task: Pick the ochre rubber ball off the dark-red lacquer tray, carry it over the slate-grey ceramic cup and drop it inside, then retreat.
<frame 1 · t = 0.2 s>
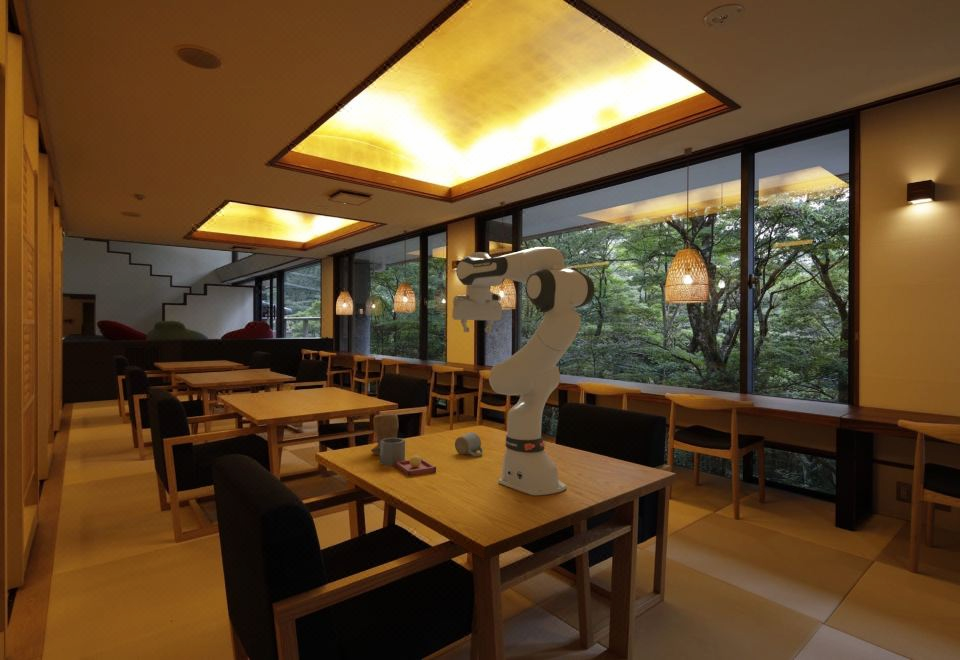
hand: (477, 332, 184), 47 cm above the table, fingers open, 8 cm apart
lacquer tray: (415, 469, 167), on the table
ceramic mug: (470, 454, 189), on the table
ball: (415, 461, 167), point 3 cm above the table, touching lacquer tray
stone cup: (386, 452, 189), on the table
deep cup: (392, 462, 175), on the table
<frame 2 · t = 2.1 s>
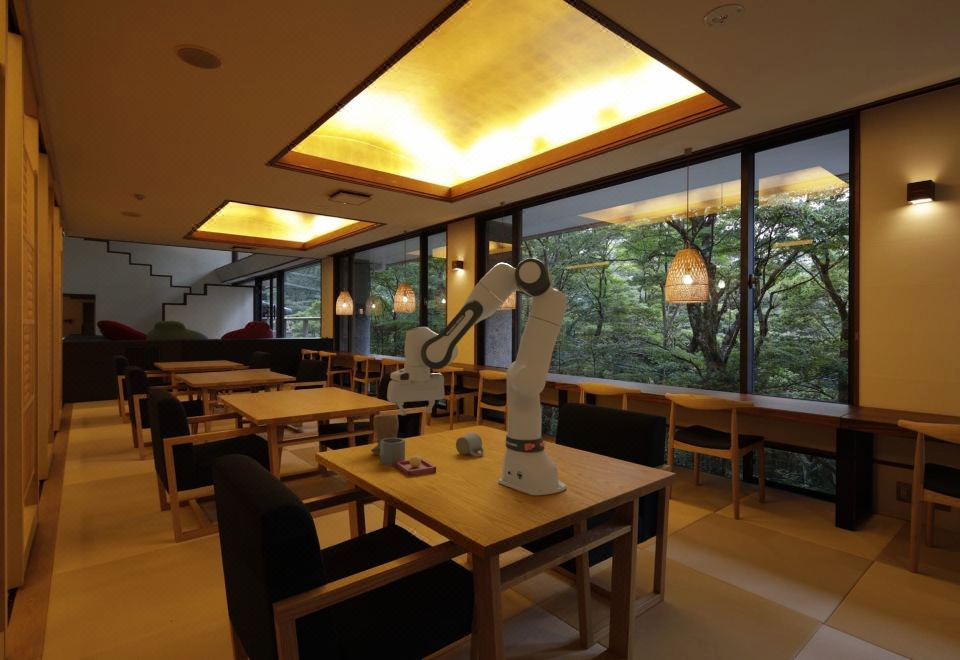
hand: (416, 413, 167), 19 cm above the table, fingers open, 8 cm apart
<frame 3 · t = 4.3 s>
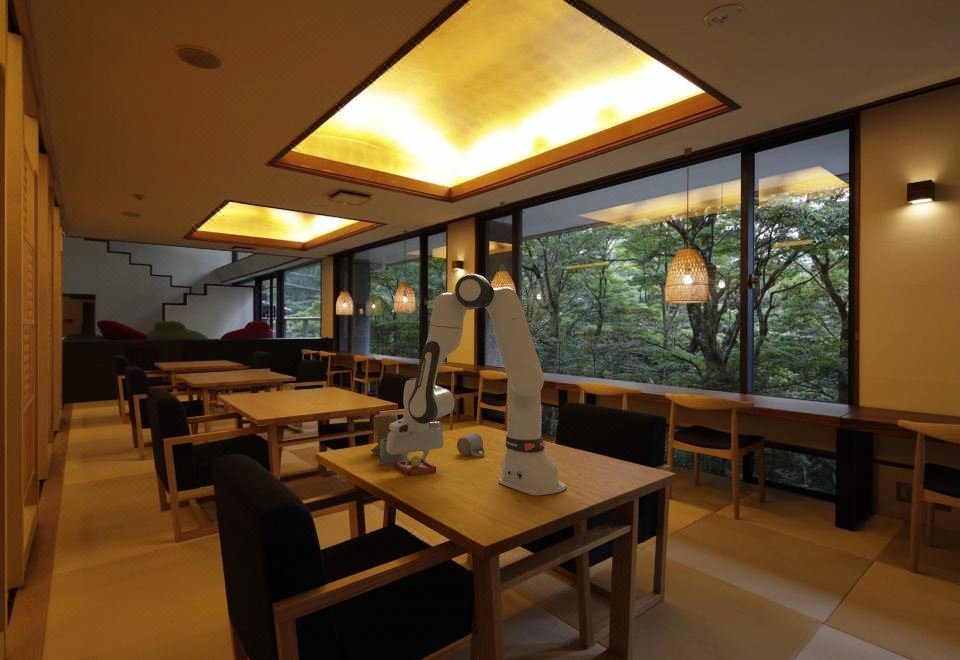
hand: (415, 463, 167), 2 cm above the table, fingers closed on ball, 4 cm apart
ball: (415, 461, 167), point 3 cm above the table, touching gripper, lacquer tray
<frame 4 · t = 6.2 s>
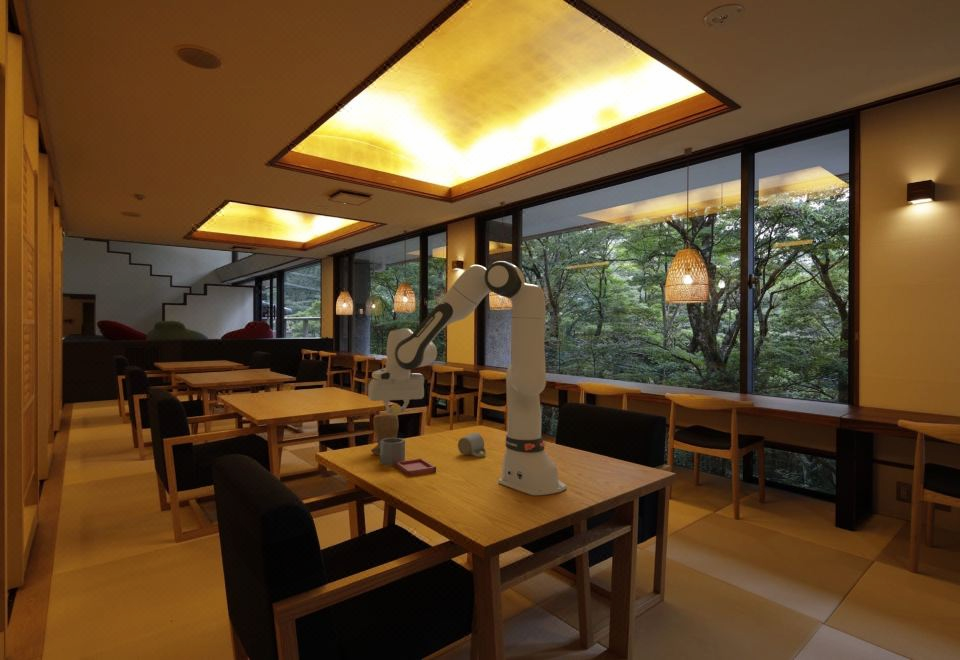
hand: (395, 412, 173), 19 cm above the table, fingers closed on ball, 4 cm apart
ball: (396, 410, 173), point 19 cm above the table, touching gripper
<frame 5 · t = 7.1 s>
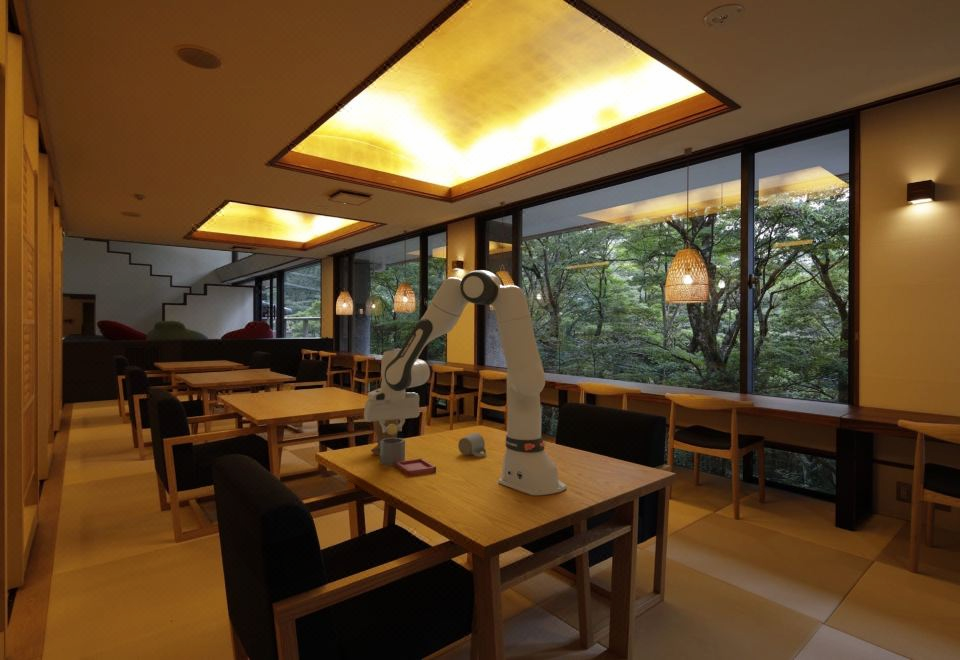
hand: (392, 431, 175), 11 cm above the table, fingers closed on ball, 4 cm apart
ball: (392, 429, 175), point 12 cm above the table, touching gripper
when the fingers open (10 cm above the table, at t = 7.9 s): ball drops 8 cm, resting on deep cup.
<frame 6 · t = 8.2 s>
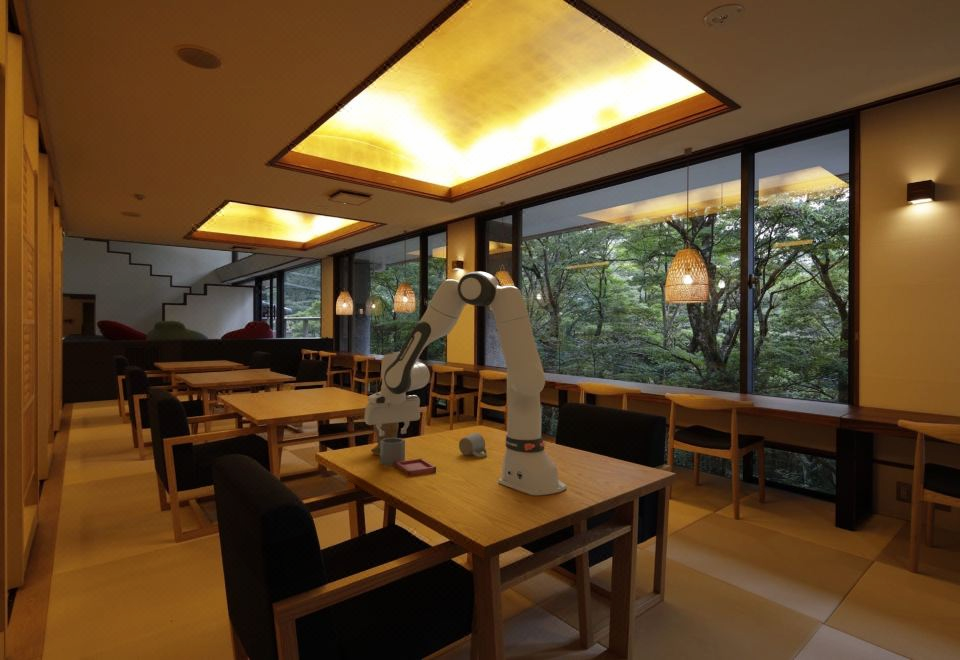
hand: (392, 434, 175), 10 cm above the table, fingers open, 7 cm apart
ball: (392, 454, 175), point 3 cm above the table, touching deep cup
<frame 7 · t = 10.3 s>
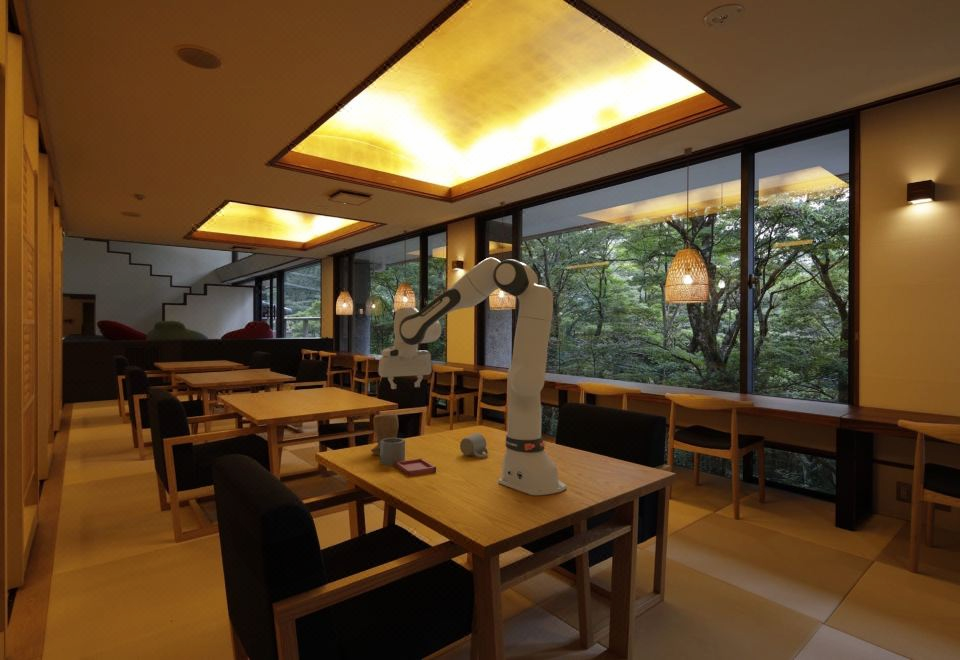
hand: (405, 387, 181), 26 cm above the table, fingers open, 8 cm apart
ball: (390, 455, 175), point 3 cm above the table, tilted 24°, touching deep cup
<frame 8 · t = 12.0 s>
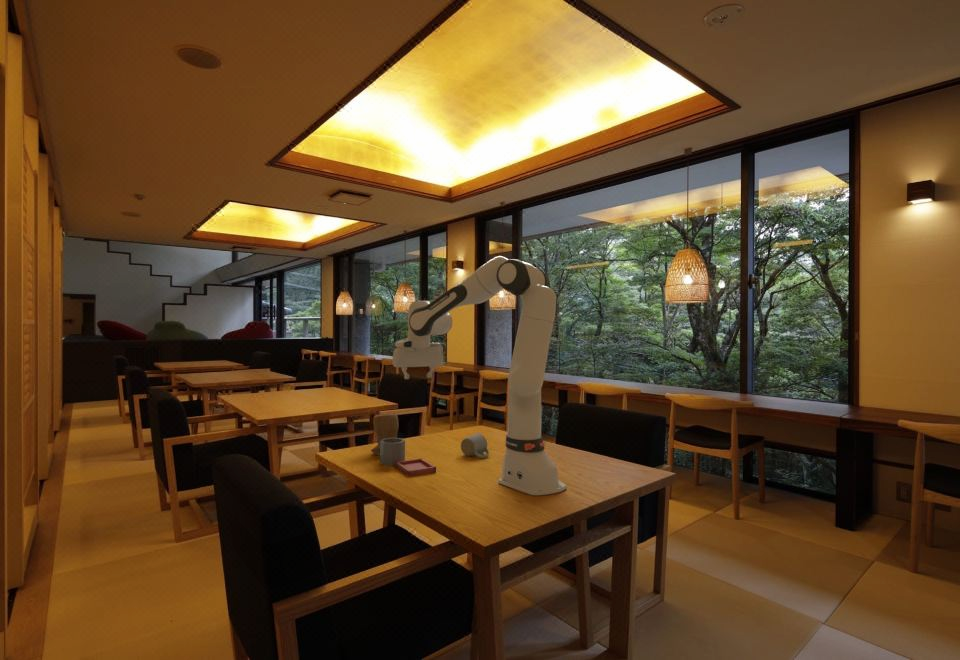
hand: (418, 378, 188), 29 cm above the table, fingers open, 8 cm apart
ball: (389, 455, 174), point 3 cm above the table, tilted 39°, touching deep cup
at the end: ball 1.3 cm off-centre on the deep cup, point 2.8 cm above the deep cup's base; the gripper is holding nothing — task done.
